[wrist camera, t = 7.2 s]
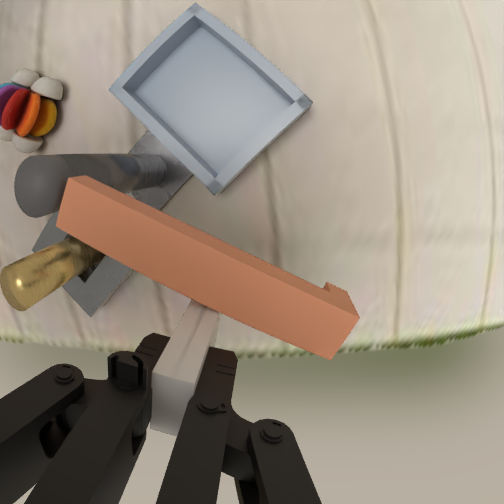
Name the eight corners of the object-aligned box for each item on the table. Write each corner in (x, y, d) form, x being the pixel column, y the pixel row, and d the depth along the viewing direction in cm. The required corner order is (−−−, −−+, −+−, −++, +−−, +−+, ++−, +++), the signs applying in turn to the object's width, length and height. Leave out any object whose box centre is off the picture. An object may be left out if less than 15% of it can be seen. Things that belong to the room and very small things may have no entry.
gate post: (116, 172, 29) (2, 189, 14) (155, 126, 28) (52, 103, 13) (156, 214, 30) (59, 262, 15) (198, 168, 28) (119, 178, 14)
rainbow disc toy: (49, 159, 29) (5, 162, 22) (4, 131, 29) (-37, 131, 22) (78, 88, 27) (36, 76, 20) (29, 68, 26) (-11, 58, 19)
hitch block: (47, 243, 32) (31, 250, 29) (90, 177, 29) (74, 180, 26) (103, 305, 33) (90, 317, 30) (154, 246, 31) (143, 254, 28)
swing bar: (320, 333, 16) (327, 365, 14) (42, 196, 16) (9, 203, 13) (349, 286, 16) (363, 311, 13) (56, 147, 15) (22, 148, 12)
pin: (76, 244, 31) (-5, 285, 19) (93, 221, 31) (8, 255, 18) (97, 267, 32) (22, 319, 19) (115, 245, 31) (36, 292, 19)
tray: (123, 95, 27) (108, 89, 24) (202, 16, 24) (195, 2, 21) (221, 191, 29) (214, 195, 26) (309, 108, 26) (313, 102, 23)
